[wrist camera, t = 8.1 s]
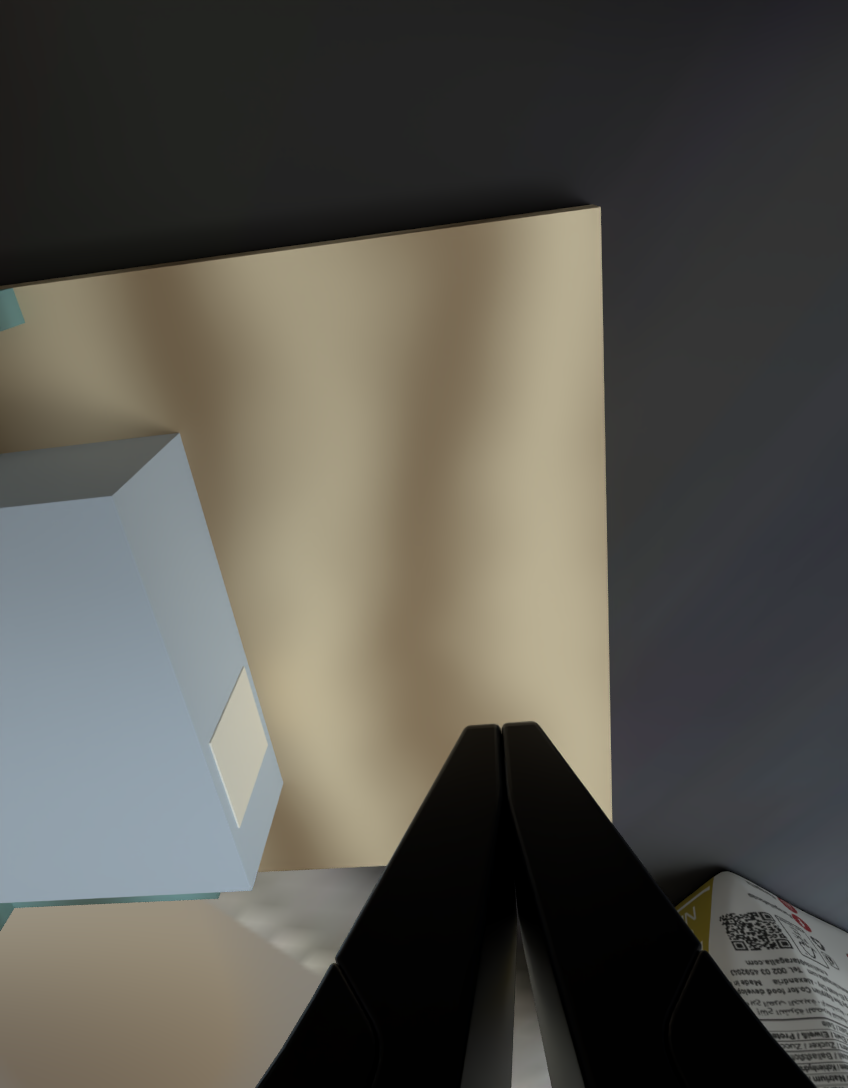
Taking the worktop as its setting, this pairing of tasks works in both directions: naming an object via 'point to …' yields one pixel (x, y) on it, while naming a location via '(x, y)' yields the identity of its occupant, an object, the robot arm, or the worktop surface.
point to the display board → (366, 490)
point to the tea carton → (122, 684)
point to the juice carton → (779, 969)
